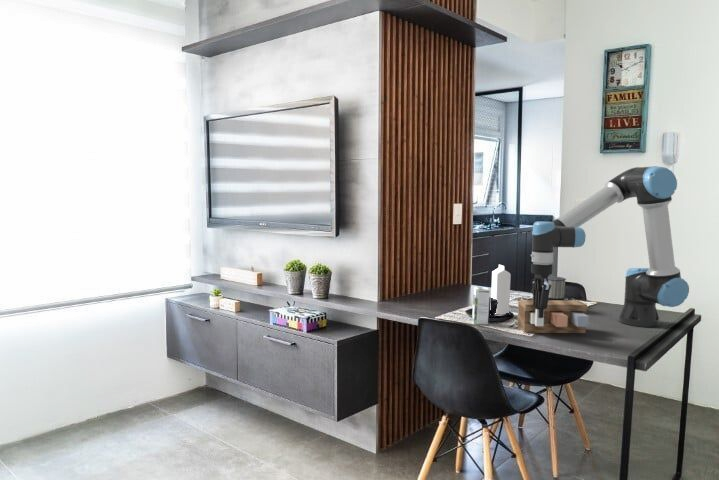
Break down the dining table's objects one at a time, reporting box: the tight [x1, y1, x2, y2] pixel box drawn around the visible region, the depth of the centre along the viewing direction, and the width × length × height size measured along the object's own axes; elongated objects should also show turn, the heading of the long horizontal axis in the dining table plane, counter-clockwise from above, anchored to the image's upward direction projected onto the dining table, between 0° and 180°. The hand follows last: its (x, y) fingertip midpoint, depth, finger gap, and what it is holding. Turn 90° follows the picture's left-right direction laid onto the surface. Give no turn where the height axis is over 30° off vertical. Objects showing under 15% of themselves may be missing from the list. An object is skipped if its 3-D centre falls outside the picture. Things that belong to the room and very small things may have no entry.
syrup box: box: [471, 286, 491, 325], centre depth 225 cm, size 6×6×14 cm
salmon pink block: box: [549, 311, 568, 327], centre depth 210 cm, size 4×9×4 cm, turn 3°
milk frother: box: [526, 275, 567, 300], centre depth 253 cm, size 14×16×15 cm
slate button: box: [570, 311, 590, 328], centre depth 210 cm, size 4×9×4 cm, turn 3°
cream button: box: [529, 311, 536, 324], centre depth 214 cm, size 4×9×4 cm, turn 3°
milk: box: [490, 264, 512, 314], centre depth 238 cm, size 6×6×22 cm
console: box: [516, 299, 588, 334], centre depth 216 cm, size 24×8×11 cm, turn 93°
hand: (539, 325), depth 207 cm, fingers closed
